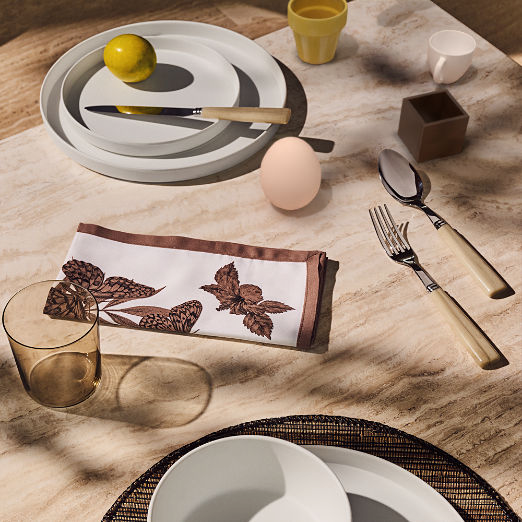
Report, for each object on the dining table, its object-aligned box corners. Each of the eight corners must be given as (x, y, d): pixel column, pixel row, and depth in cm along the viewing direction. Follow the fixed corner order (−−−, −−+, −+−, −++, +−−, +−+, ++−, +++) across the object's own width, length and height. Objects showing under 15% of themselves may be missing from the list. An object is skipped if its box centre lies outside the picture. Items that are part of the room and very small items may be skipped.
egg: (294, 233, 96) (295, 172, 87) (248, 205, 100) (245, 145, 91) (331, 199, 100) (336, 138, 91) (286, 174, 104) (286, 113, 95)
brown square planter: (438, 124, 111) (446, 88, 105) (460, 152, 106) (470, 116, 101) (397, 134, 109) (402, 97, 104) (417, 163, 105) (424, 126, 99)
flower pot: (304, 33, 129) (305, -16, 122) (353, 47, 126) (357, -3, 118) (277, 61, 124) (277, 11, 116) (328, 76, 120) (331, 26, 113)
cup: (474, 71, 120) (483, 37, 115) (453, 101, 114) (461, 67, 109) (433, 59, 123) (439, 25, 117) (411, 88, 117) (416, 54, 112)
